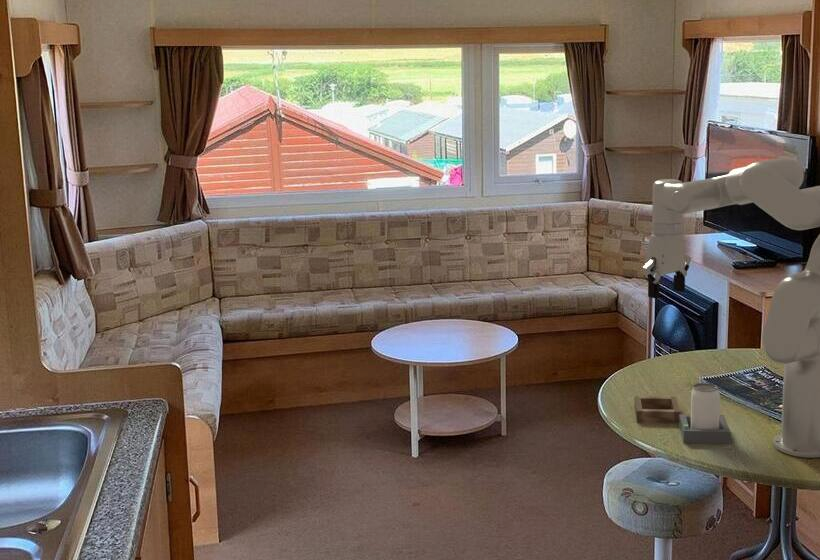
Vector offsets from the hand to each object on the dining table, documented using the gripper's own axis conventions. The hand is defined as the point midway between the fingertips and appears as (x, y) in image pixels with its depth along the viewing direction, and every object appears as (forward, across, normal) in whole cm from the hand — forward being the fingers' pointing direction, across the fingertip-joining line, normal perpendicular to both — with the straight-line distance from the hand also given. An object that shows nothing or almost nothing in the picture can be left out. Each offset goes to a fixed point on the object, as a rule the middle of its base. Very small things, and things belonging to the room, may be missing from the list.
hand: (666, 294), depth 243 cm
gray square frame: (+28, +12, +22) cm, 38 cm away
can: (+28, +12, +22) cm, 38 cm away
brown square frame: (+28, +11, +6) cm, 31 cm away
